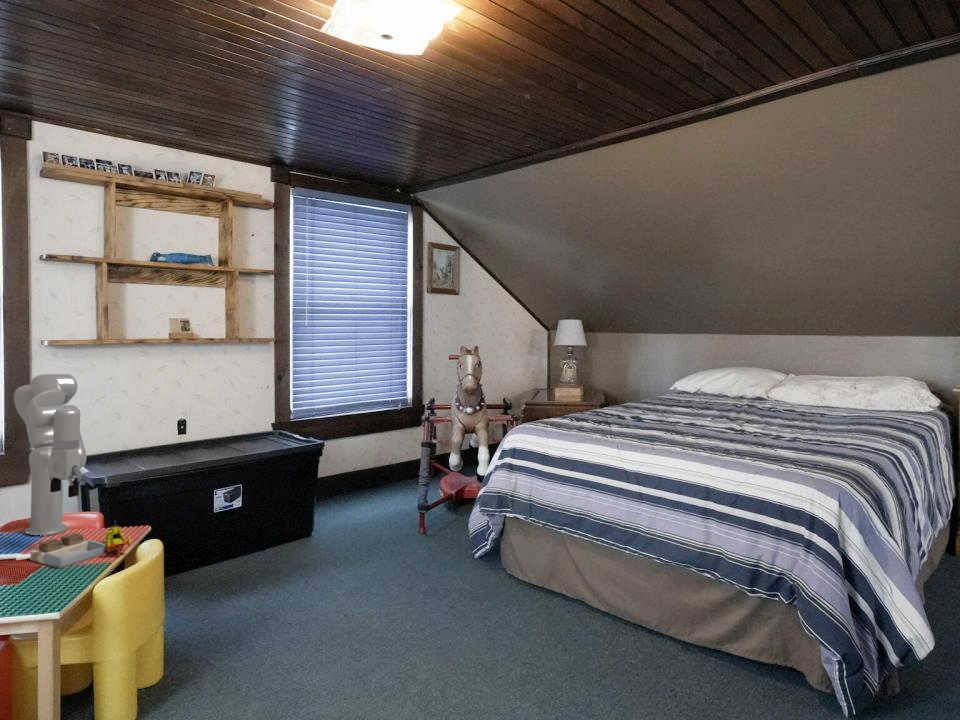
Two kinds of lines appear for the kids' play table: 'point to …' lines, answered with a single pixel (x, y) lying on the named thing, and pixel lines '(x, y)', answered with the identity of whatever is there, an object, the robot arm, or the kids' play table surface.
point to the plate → (59, 551)
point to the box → (75, 555)
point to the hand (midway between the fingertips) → (64, 493)
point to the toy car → (115, 539)
